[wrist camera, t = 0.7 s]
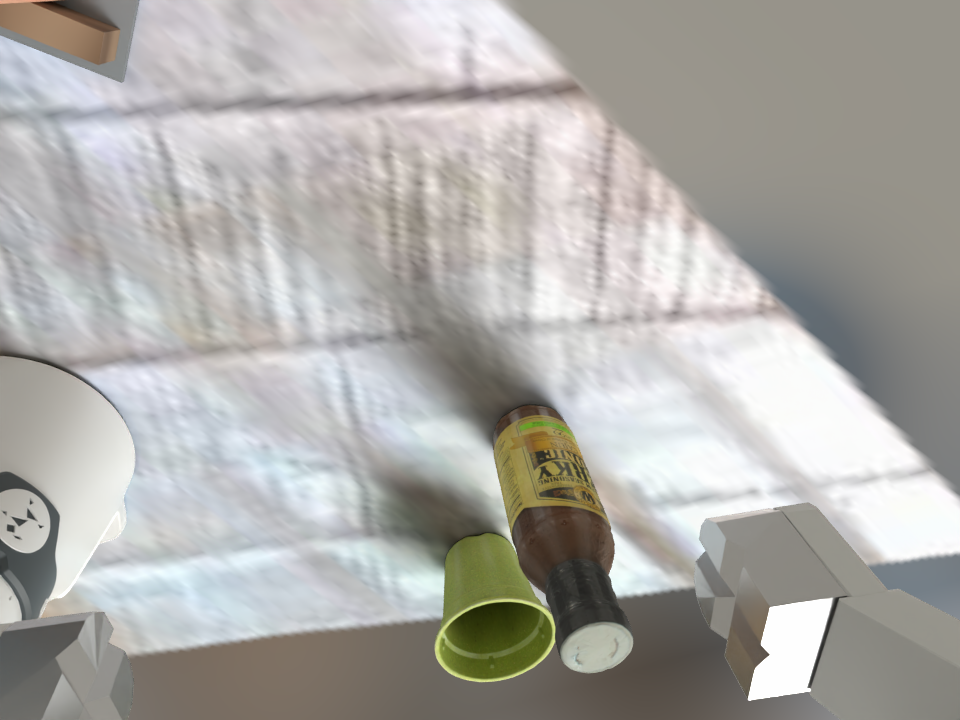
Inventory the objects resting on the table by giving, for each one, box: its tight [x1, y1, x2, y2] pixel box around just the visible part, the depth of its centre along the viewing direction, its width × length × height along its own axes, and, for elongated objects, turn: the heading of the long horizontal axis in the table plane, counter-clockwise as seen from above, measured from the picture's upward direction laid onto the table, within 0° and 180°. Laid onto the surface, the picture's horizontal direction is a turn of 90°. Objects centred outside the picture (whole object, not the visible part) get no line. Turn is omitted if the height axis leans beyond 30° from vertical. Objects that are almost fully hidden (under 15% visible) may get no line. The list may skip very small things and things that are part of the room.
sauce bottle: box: [493, 405, 633, 673], centre depth 44 cm, size 6×6×20 cm
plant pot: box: [435, 533, 555, 682], centre depth 54 cm, size 9×9×9 cm
